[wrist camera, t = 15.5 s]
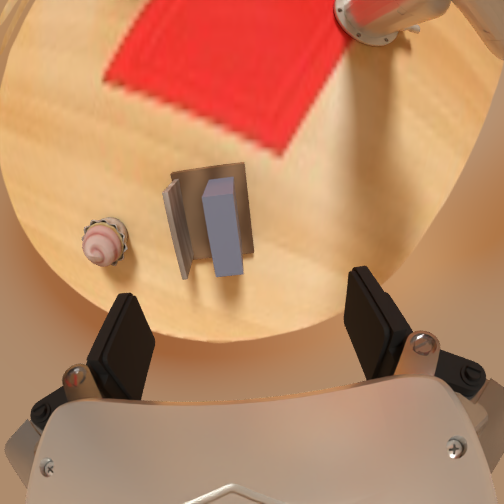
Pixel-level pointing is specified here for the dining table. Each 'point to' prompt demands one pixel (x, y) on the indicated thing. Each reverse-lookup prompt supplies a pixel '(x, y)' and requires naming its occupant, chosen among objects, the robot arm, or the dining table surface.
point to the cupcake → (105, 241)
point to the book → (223, 226)
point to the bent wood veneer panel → (202, 211)
